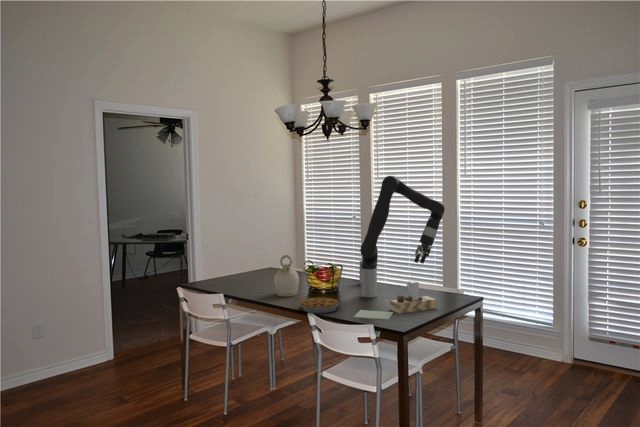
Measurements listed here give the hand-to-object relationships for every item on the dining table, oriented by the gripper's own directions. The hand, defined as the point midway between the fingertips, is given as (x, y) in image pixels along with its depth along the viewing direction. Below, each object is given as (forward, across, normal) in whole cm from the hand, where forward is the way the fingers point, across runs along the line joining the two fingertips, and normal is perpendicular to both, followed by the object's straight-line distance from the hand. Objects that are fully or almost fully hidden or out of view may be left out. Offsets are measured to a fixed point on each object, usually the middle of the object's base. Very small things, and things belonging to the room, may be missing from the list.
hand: (418, 262), depth 287 cm
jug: (+46, -46, -56) cm, 86 cm away
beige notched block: (+26, +8, +3) cm, 27 cm away
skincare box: (+21, -62, -5) cm, 66 cm away
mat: (+36, +15, -19) cm, 44 cm away
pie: (+45, -6, -42) cm, 62 cm away
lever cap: (+21, +9, +1) cm, 23 cm away
